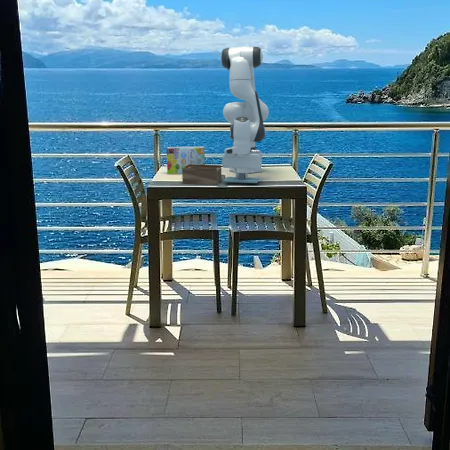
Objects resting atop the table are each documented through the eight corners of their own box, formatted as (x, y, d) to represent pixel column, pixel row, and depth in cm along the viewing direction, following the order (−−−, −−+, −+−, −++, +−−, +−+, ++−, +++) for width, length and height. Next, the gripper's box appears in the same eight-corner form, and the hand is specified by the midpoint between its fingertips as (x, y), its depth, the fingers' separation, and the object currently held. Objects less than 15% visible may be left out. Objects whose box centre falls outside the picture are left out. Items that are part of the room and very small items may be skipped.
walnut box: (188, 179, 311) (188, 164, 309) (221, 180, 308) (221, 165, 306) (182, 183, 300) (182, 167, 298) (216, 184, 297) (216, 168, 295)
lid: (227, 178, 306) (227, 171, 305) (259, 179, 303) (259, 172, 302) (224, 181, 297) (224, 175, 296) (256, 183, 294) (256, 176, 293)
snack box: (204, 172, 333) (204, 146, 329) (204, 174, 327) (204, 147, 323) (167, 172, 332) (166, 146, 328) (167, 174, 327) (166, 147, 323)
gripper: (263, 149, 297) (262, 176, 300) (223, 148, 301) (223, 175, 304) (261, 151, 291) (261, 178, 294) (221, 150, 295) (221, 177, 298)
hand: (241, 176), depth 299 cm, fingers open, 3 cm apart
